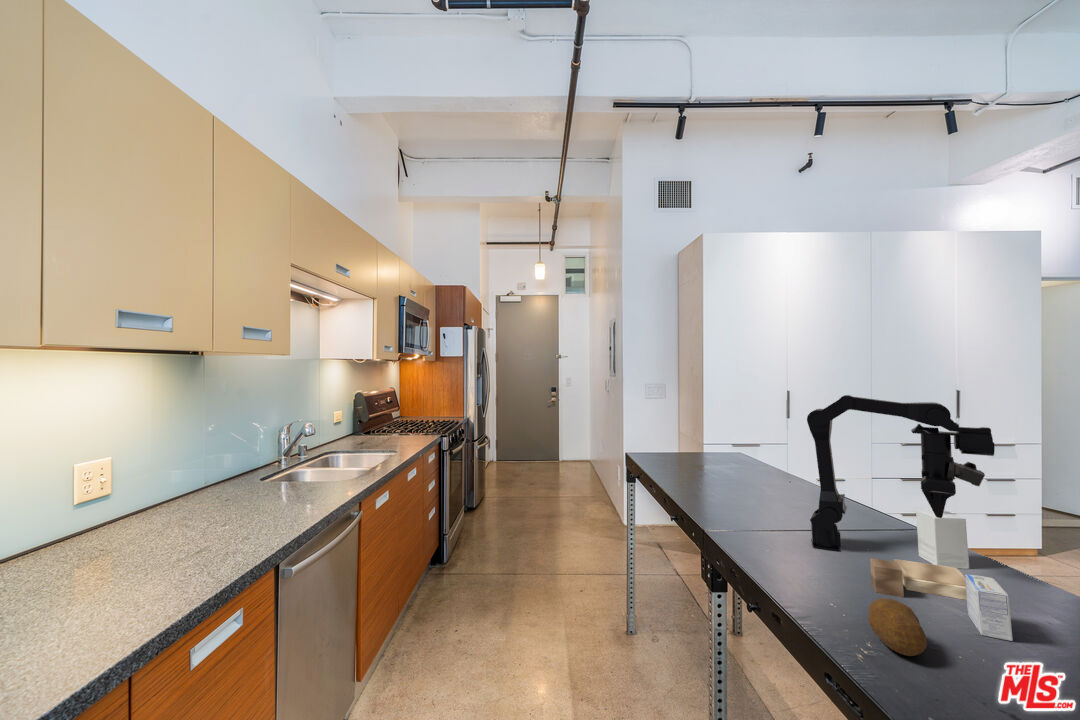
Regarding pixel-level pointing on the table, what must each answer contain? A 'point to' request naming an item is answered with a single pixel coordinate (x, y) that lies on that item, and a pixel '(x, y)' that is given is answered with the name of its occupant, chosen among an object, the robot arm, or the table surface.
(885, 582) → the walnut block
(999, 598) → the medicine box
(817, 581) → the table surface
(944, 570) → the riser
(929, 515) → the supplement box
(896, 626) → the potato
